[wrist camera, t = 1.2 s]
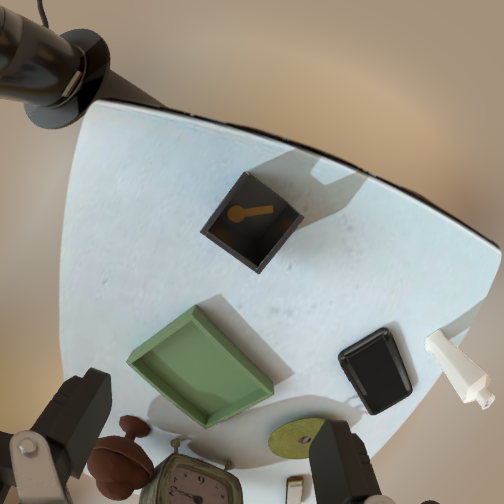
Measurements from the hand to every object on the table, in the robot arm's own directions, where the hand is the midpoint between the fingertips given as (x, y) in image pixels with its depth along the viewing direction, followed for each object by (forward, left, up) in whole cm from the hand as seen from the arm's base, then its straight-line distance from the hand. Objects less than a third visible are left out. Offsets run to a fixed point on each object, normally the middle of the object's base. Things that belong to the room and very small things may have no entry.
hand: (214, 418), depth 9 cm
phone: (+27, +4, -24) cm, 36 cm away
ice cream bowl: (+13, -33, -24) cm, 43 cm away
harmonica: (+48, -25, -24) cm, 59 cm away
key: (-2, +4, -23) cm, 24 cm away
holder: (-2, +4, -24) cm, 24 cm away
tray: (+10, -14, -24) cm, 30 cm away
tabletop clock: (+25, -30, -24) cm, 46 cm away
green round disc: (+30, -11, -24) cm, 40 cm away
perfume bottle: (+29, +14, -24) cm, 40 cm away
